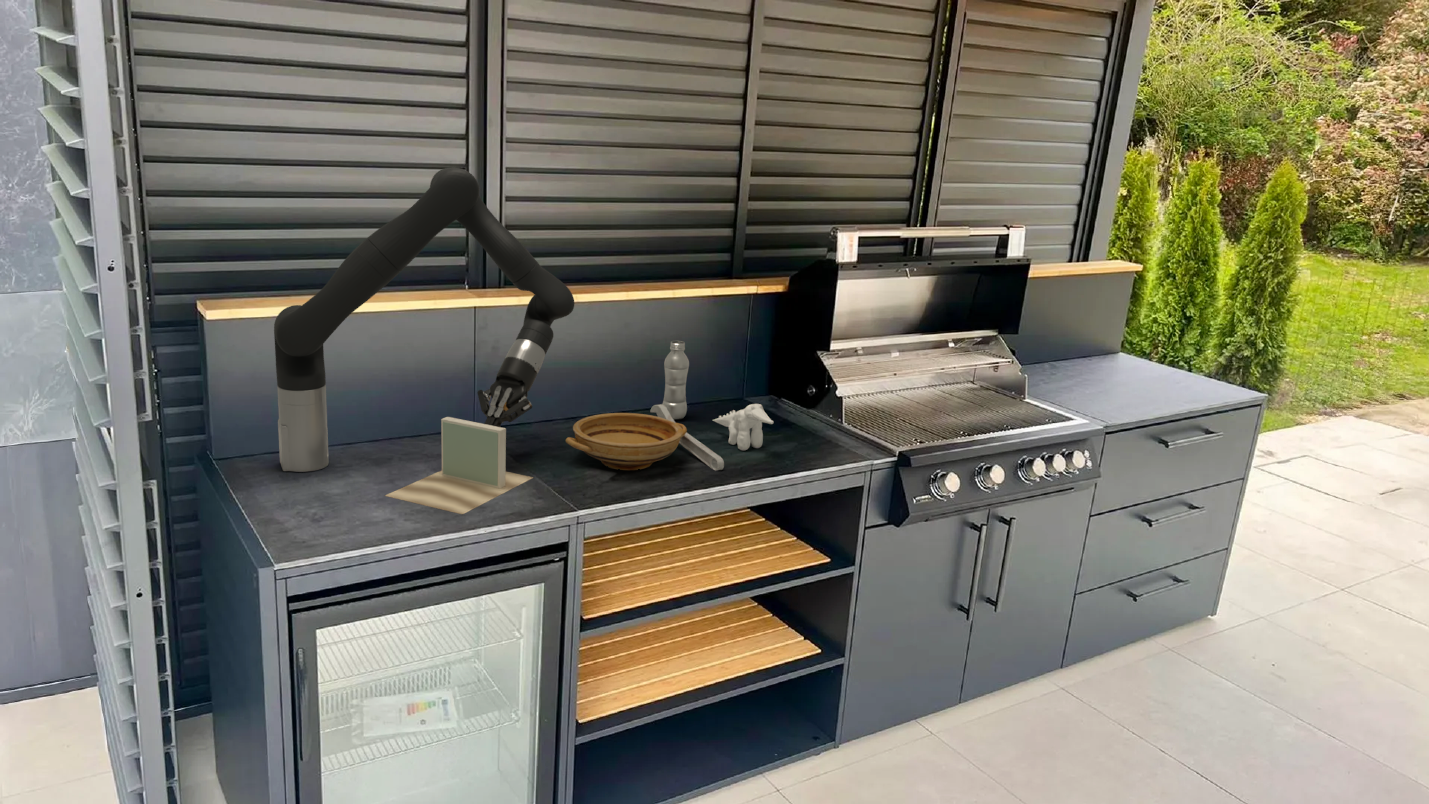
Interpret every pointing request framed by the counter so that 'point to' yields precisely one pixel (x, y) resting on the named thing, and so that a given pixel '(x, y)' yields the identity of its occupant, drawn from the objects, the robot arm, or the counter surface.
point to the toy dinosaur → (745, 426)
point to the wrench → (692, 443)
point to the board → (454, 492)
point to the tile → (473, 452)
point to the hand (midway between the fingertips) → (487, 435)
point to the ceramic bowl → (626, 439)
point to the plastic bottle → (676, 380)
